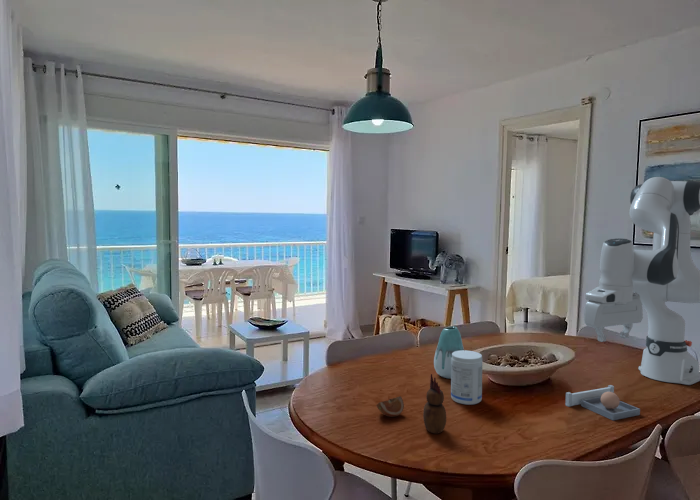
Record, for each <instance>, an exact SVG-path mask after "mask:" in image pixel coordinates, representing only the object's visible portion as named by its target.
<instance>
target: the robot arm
mask: <svg viewBox="0 0 700 500" xmlns="http://www.w3.org/2000/svg"><path fill="white" fill-rule="evenodd" d="M629 202H630V206H629V207H630V208H629V211H628V212H629V215H628V216H629V217H630V220H631V222H632V223H633V224H634V225H635V226H636V227H637V228H640V229H642V230H643V231H645V232H650V233H653V238H652V249H635V248H634V244H633V241H632V240H630V239H628V238H609V239H607V240H605V241H603V243H602V247H601V251H600V257H599V272H600V277H599V280H598V286H596V287H595V288H593V289H591V290H590V291H587V292H586V293H585V300H587V301H586V303H585V305H584V316H583V318H584V319H583V321H584V324H585V326H586V327H590V328H593V329H594V331H595V333H596V334H597V341H598V342H601V343H602V342H606V341H607V335H605V334H604V331H605V327H606V328H607V327H614V326H623V328H622V331H619V332H620V336H619V337H620V338H621V339H629V338H630V332H631V331H632V328H633V325H634V324H639V323H641V322H642V321H643V318H644V317H643V315H644V314H643V308H644V310H645V312H646V316H647V336H646V338H645V346H646V347H645V348H644V349H643V352H642V358H641V363H640V365H639V366H638V369H637V370H639V371H640V374H641V375H642V376H645V377H647V378H649V379H651V380H655V381H659V382H665V383H673V384H682V385H686V386H691V385H693V384H696V383H698V382H700V363H699V360H698V359H696V358H695V357H694V356H693V355H692V354H691V353H690V352H689V351H688V347H689V348H690V347H692V345H693V342H692V341H691V340H686V339H685V332H686V321H685V319H684V318H683V316H682V315H680V313H678V312H676V311H673V310H672V309H670V308H668V306H667V305H666V302H671V303H682V304H700V270H699V268H698V267H697V266H696V264H695V262H694V260H693V257H692V252H691V237H692V236H691V233H692V231H691V230H692V229H691V228H692V226H691V216H693V215H694V213H695V212H698V211H699V210H700V181H695V180H687V181H685V180H670V179H668V178H666V177H663V176H654V177H650V178H648V179H646V180H645V181H644V182H643V183H642V184H638V185H636V186H634V187H633V189H632V190H631V192H630V196H629Z"/></svg>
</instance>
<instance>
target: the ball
mask: <svg viewBox="0 0 700 500" xmlns="http://www.w3.org/2000/svg"><path fill="white" fill-rule="evenodd" d="M620 401H621V400H620V398H619V396H618V395H617V394H616V393H615V392H614V393H613V392H605V393H603V394H602V396H601V403H602V404H603V406H604V407H606V408H608V409H615V408H617V407H618V406H619V403H620Z"/></svg>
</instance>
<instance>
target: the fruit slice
mask: <svg viewBox="0 0 700 500" xmlns="http://www.w3.org/2000/svg"><path fill="white" fill-rule="evenodd" d="M376 407H377V409H378V410H379V412H380V413H381V414H383V415H384V416H386V417H389V418H395V417H399V415H401V414H402V413H403V411H404V410H405V409H404V408H405V404H404V400H403V398H402V396H401V395H400V396H397V397H393V398H389V399H388V400H384V401H380V402H378V403H377V404H376Z"/></svg>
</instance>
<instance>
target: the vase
mask: <svg viewBox="0 0 700 500" xmlns="http://www.w3.org/2000/svg"><path fill="white" fill-rule="evenodd" d="M437 342H438V343H437V346H436V349H435V353H434V357H433V367H434V370H435V372H436V374H437V375H439V376H440V377H442V378H446V379H450V380H451V358H452V353H453V352H455V351H460V350H465V347H464V345H463V339H462V335H461V332H460V330H459V328H458V327H457V326H447V327H444V328H443V329H442V331H441V332H440V336H439V338H438V341H437Z"/></svg>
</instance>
